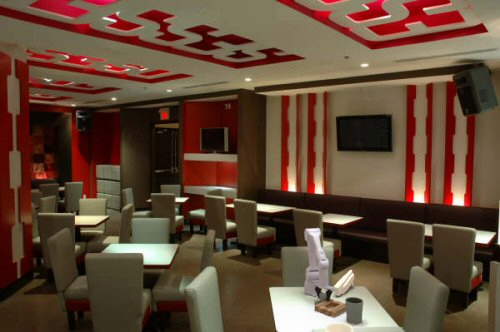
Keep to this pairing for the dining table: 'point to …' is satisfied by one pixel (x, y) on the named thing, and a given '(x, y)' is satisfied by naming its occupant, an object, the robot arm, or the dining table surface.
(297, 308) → the dining table surface
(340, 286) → the shelf bracket
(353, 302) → the gray cup
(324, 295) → the steel bracket
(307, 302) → the dining table surface
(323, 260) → the robot arm
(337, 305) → the oak well block
